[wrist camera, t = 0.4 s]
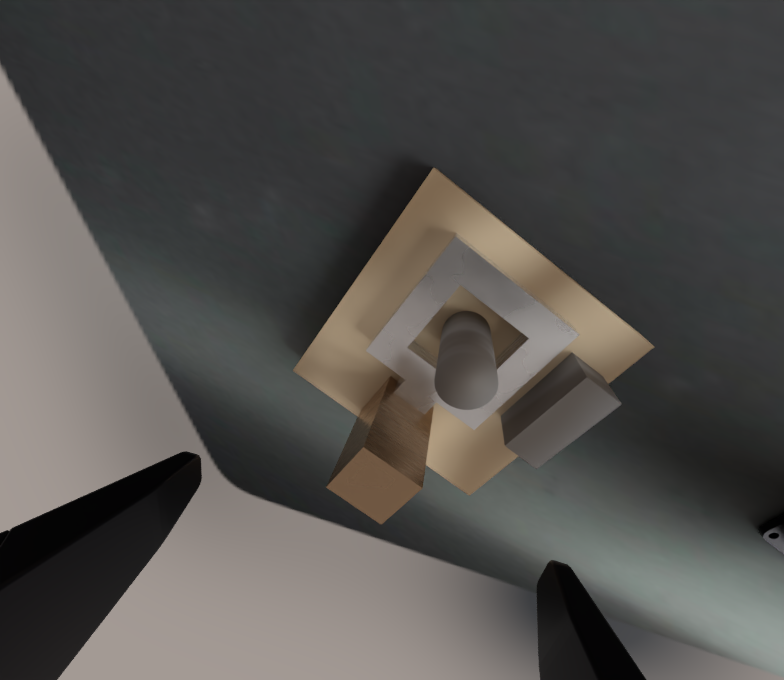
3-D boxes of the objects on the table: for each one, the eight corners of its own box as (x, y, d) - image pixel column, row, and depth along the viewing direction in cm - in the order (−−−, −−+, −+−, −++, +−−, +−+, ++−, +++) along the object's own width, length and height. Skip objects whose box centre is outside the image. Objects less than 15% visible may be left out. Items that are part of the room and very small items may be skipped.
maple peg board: (640, 334, 19) (720, 406, 13) (469, 477, 24) (470, 573, 18) (436, 168, 18) (420, 164, 12) (303, 359, 23) (246, 421, 17)
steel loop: (572, 325, 18) (619, 390, 12) (428, 458, 22) (416, 549, 17) (456, 232, 17) (451, 258, 12) (332, 390, 22) (288, 461, 16)
